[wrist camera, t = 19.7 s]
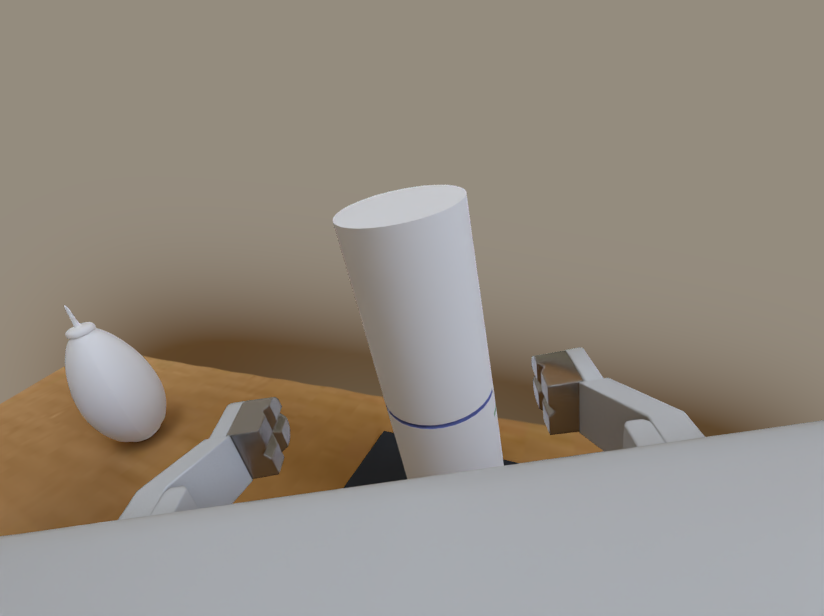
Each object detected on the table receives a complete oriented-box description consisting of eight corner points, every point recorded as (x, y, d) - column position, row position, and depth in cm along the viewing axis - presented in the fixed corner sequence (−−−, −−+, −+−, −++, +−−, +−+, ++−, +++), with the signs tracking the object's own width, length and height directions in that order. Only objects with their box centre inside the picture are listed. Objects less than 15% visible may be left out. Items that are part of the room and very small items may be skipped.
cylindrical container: (403, 534, 34) (304, 228, 22) (445, 466, 39) (382, 188, 27) (489, 573, 30) (423, 228, 18) (523, 491, 35) (488, 181, 23)
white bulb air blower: (152, 459, 48) (61, 321, 40) (96, 460, 50) (-2, 328, 42) (193, 411, 55) (123, 284, 46) (143, 413, 57) (66, 291, 48)
